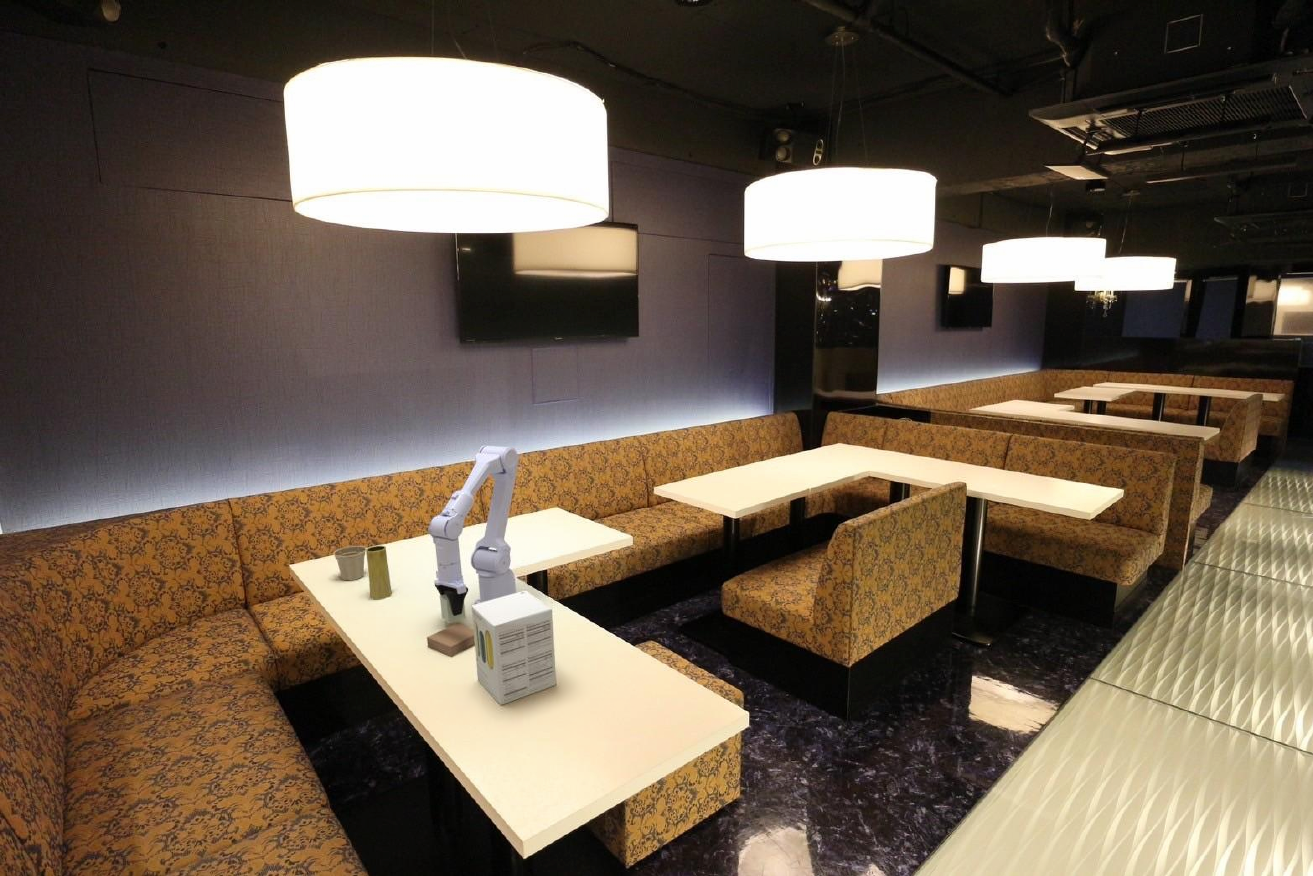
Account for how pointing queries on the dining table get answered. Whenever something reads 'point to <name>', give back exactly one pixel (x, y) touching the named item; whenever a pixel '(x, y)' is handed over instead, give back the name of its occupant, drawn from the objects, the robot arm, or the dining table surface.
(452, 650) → the walnut slab
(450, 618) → the sage block
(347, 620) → the dining table surface
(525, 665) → the supplement box
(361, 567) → the flower pot
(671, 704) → the dining table surface
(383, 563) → the vase
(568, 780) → the dining table surface
